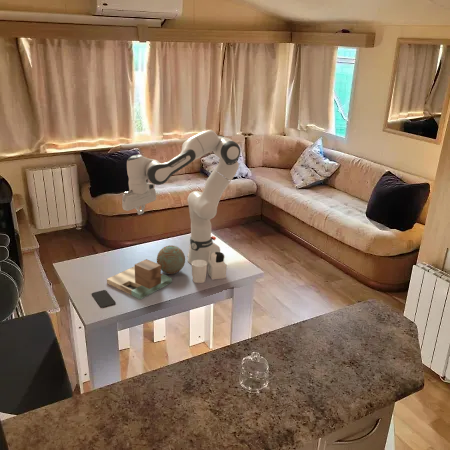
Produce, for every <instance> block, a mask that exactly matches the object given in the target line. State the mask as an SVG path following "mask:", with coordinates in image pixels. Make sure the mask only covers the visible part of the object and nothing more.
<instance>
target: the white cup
mask: <svg viewBox="0 0 450 450" xmlns="http://www.w3.org/2000/svg"><path fill="white" fill-rule="evenodd" d="M207 272H208V266H207V262H206V261H204V260H194V261H193V262H192V264H191V276H192V277H191V278H192V282H193V283H195V284H203V283H205V282H206V279H207V277H206V276H207Z"/></svg>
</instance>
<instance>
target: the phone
mask: <svg viewBox="0 0 450 450" xmlns="http://www.w3.org/2000/svg"><path fill="white" fill-rule="evenodd" d="M91 296H92V297H93V299H94V300H95V302H96V303H97V305H98V306H99V307H100V308H102V309H105V308H107V307H112V306H115V305H116V303H117V302H116V301H115V300H114V298H113V297H112V296H111V295H110V294H109V292H108V290H107V289H103V290H98V291H94V292H92V293H91Z"/></svg>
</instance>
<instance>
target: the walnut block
mask: <svg viewBox="0 0 450 450" xmlns="http://www.w3.org/2000/svg"><path fill="white" fill-rule="evenodd" d="M134 266H135V283H138V284H140V285H142V286H144V287H146V288H149V289H150V288H152V287H154V286H156V285H158V284H160V283H161V274H162V270H161V265H160V264H157V262H154V261H152V260H149V259H147V258H146V259H144V260H142V261H139V262H137V263H135V264H134Z"/></svg>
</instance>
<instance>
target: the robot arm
mask: <svg viewBox="0 0 450 450" xmlns="http://www.w3.org/2000/svg"><path fill="white" fill-rule="evenodd" d="M241 152H242V151H241V147H240V146H239V144H238V143H237V142H236V141H234V140H233V139H232V138H229V137H227V136H226V137H225V136H224V135H218V134H217V133H216V132H215V130H212V129H208V130H207V129H206V130H204V131H201V132H198V133H196V134H194V135H193V136H190V137H189V138H188V139H186V140H185V141H184V142H183V143H182V145H181V151H180V153H179V154H178V155H176V156H175V157H173V158H171V159H170V160H168V161H167V162H163V163H162V162H160V161H159V160H157V159H153V158H149V157H146V156H144V155H142V154H134V155H131V156H130V157H128V159H127V160H126V171H127V176H128V183H127V184H128V190H127V191H124V192H123V194H122V196H121V203H122V204H121V207H122V209H123V211H127V212H129V211H132V210H134V209H135V210H136V211H137V213H136V214H137V215H138V216H139V215H140V216H141V215H143V214H145V209H146V205H147V204H151V203H152V202H155V201H156V200H157V192H156V188H155V187H156V186H155V185H157V186H159V185H161V186H162V185H164V184H166V183H167V182H168V180H169V179H170V178H171V176H173V175H174V174H176V173H177V172H178V171H181V170H182V169H184V168H185V167H186V166H188V165H190V164H191V163H193V162H194V161H196V160H197V159H199V158H202V157H203V156H205V155H207V154H208V153H212V154H214V155H215V156H217V157H218V158H219V159H218V160H219V161H218V164H217V165H216V166H215V167H214V169H213V170H212V172H211V173H210V174H209V176H208V177H207V179H206V180H205V184H204V187H203V191H198V190H194V191H192V192H190V193H189V194H188V196H187V199H186V200H187V205H188V212H189V219H190V238H189V245H188V246H189V248H188V254H187V255H186V257H187V262H188V264H190V265H192V262H193V261H194V260H204V261H206V262H207V267H208V261H210V260H211V254H212V253H214V252H221V247H220V246H219V245H218V244H216V243H215V242H214V241H216V239H217V237H216V236H213V235H212V223H211V220H212V219H213V218H215V216H216V215H217V212H218V205H219V202H220V201H221V198H222V196H223V194H224V192H225V190H227V188H228V186H229V185H230V184H231V182H232V180H233V179H234V177H235V175H236V173H237V172H238V169H239V168H240V167H239V166H240V165H239V162H238V161H239V158H240V156H241ZM147 180H149V181H150V182H148V181H147Z"/></svg>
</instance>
